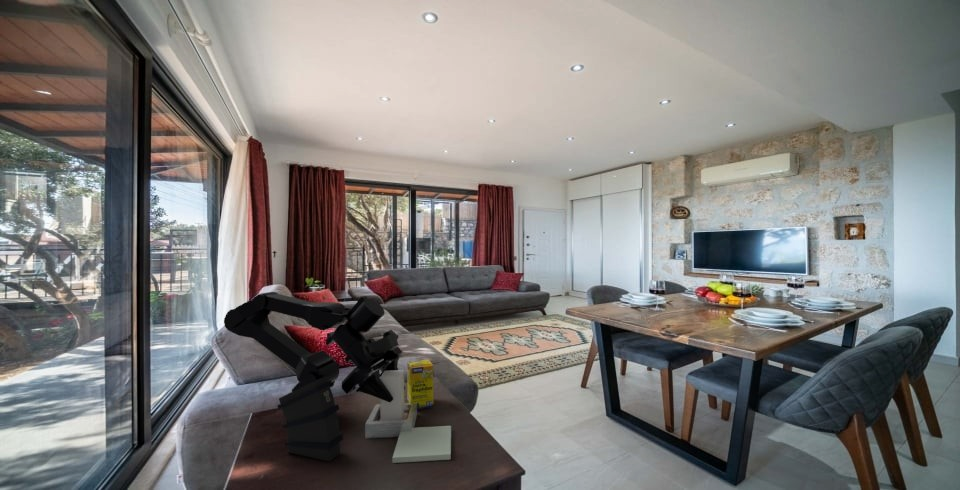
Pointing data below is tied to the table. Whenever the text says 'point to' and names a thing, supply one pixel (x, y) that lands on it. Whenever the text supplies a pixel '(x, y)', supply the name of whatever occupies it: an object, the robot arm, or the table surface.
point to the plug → (396, 388)
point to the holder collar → (390, 423)
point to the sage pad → (423, 444)
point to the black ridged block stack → (312, 421)
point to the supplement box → (420, 383)
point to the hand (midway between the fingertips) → (398, 395)
